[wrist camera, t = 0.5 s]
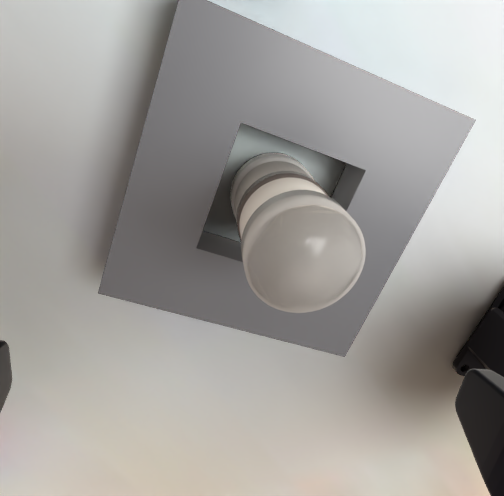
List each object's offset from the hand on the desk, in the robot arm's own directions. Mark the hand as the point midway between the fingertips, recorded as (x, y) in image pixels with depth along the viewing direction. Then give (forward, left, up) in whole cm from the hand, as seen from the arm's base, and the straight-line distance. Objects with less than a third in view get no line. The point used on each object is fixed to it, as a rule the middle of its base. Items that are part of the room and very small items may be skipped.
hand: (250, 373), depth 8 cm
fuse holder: (-2, -1, -12) cm, 12 cm away
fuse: (-2, -1, -12) cm, 12 cm away
